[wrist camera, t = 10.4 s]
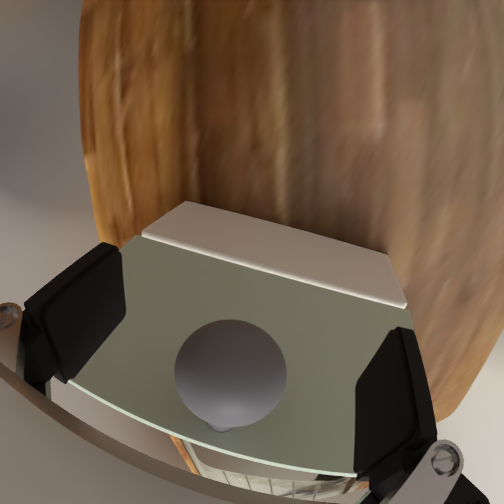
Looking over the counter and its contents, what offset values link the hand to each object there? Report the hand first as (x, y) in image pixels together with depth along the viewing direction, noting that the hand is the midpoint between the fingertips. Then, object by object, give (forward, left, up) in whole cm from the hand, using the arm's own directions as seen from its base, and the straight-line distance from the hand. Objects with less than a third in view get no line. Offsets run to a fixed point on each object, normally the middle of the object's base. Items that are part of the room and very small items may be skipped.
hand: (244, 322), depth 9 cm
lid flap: (+7, 0, -5) cm, 9 cm away
